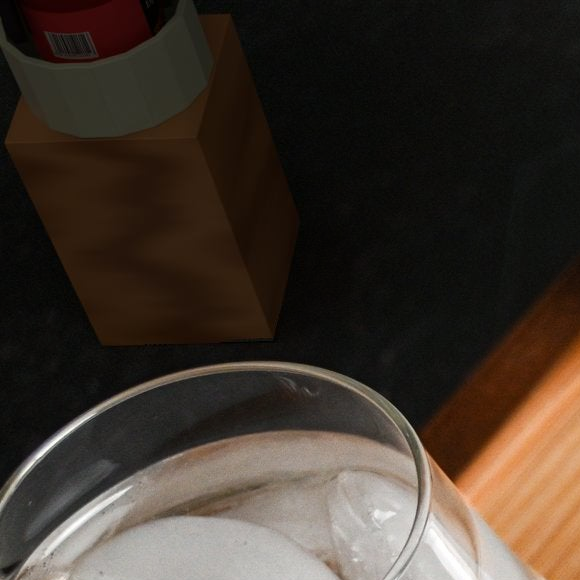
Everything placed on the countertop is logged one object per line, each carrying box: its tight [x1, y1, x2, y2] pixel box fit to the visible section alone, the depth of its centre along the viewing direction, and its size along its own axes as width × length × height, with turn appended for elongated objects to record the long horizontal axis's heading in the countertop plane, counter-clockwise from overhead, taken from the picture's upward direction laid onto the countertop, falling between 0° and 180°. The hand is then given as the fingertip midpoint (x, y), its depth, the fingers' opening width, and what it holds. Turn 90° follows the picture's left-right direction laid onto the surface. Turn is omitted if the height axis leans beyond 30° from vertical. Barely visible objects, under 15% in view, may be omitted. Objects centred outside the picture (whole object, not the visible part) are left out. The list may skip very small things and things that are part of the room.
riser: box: [4, 13, 302, 347], centre depth 128 cm, size 12×12×17 cm
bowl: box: [0, 0, 214, 138], centre depth 119 cm, size 12×12×5 cm
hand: (91, 20), depth 114 cm, fingers closed on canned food, 8 cm apart
